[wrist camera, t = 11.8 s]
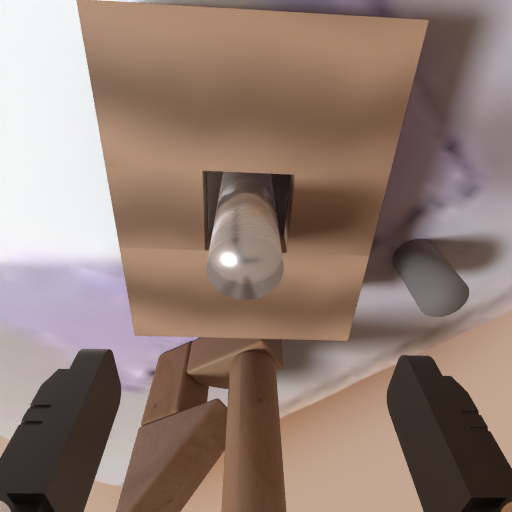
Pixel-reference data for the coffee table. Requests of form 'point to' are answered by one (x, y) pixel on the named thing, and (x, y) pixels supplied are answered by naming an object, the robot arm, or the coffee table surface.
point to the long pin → (245, 238)
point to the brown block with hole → (246, 152)
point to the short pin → (430, 278)
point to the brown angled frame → (210, 428)
